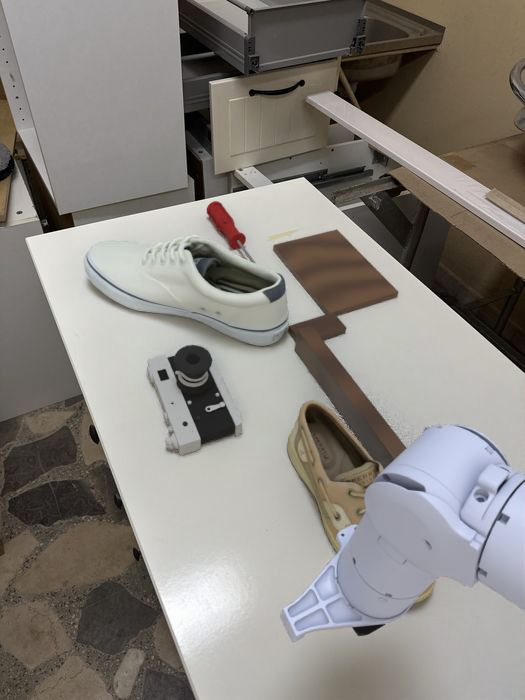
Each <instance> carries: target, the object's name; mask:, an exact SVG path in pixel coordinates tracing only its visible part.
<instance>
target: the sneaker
mask: <svg viewBox="0 0 525 700" xmlns="http://www.w3.org/2000/svg"><path fill="white" fill-rule="evenodd" d="M255 263H256V262H255ZM255 263H253V262H251V261H250V260H249V259H246V258H243V257H242V256H240V255H237V254H235V253H234V252H233V251H231V250H229V249H228V248H227V247H225V246H223V245H222V244H221V243H219V242H217V241H214V240H212V239H207V238H203V237H202V236H201V235H199V234H190V235H187V236H186V237H185V236H178V237H175V238H173V239H169V240H167V241H162V242H161V241H160V242H158V243H156V244H155V245H147V244H143V243H139V242H133V241H126V240H125V241H124V240H105V241H100V242H98V243H95V244H94V245H92V246H91V247H90V248H89V249H88V250H87V252H86V253H85V255H84V257H83V266H84V272H85V275H86V276H87V278H88V280H89V281H90V283H92V284H93V286H94V287H95V288H97V290H99V291H100V292H101V293H103V294H104V295H105V296H106V297H108V298H110V299H111V300H113V301H115V302H116V303H118V304H120V305H121V306H124V307H125V308H129V309H131V310H134V311H137V312H145V313H146V312H147V313H153V314H163V315H169V316H170V315H171V316H178V317H184V318H188V319H192V320H194V321H198V322H200V323H202V324H204V325H206V326H208V327H210V328H212V329H214V330H216V331H218V332H220V333H222V334H224V335H226V336H228V337H230V338H233V339H234V340H236V341H239V342H242V343H245V344H248V345H249V344H250V345H252V346H259V347H265V346H270V345H273V344H275V343H277V342H278V341H280V339H281V338H282V337H283V336H284V333H285V332H286V330H287V329H288V327H289V323H290V319H291V318H290V317H291V315H290V310H289V306H288V297H287V287H286V280H285V277H284V276H283V275H282V274H281V273H279V272H277V271H276V270H273V269H271V268H269V267H266V266H264V265H261V264H258V263H256V264H255Z"/></svg>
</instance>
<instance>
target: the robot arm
mask: <svg viewBox="0 0 525 700" xmlns="http://www.w3.org/2000/svg"><path fill="white" fill-rule="evenodd" d="M364 500H365V507H366V512H365V513H364V515H363V517H362V519H361V520H360V522H359V524H358V525H356V524H354V525H351V526H349V527H347V528H345V529H343V530H341V531H339V532H338V534H337V537H336V540H337V542H338V544H339V546H340V551H339V552H338V553H337V552H336V554H335V555H333V557H332V559H330V561H329V562H327V564H326V565H325V567H324V568H323V569H322V570H321V571H320V573H319V574H318V575H317V576H316V577H315V579H313V580H312V582H311V583H310V584H309V585H308V586H307V587H306V589H305V590H303V592H302V593H301V594H300V595H299V596H298V597H297V598H296V599H295V600H293V601H292V602H290V603H289V604H287V605H285V606H283V607H282V609H281V612H280V614H279V618H280V620H281V622H282V624H283V626H284V629H285V631H286V633H287V634H288V637H289V639H290V642H291V643H292V644H294V643H296V642H297V641H299V640H302V639H303V638H304V637H305V635H307V634H311V633H314V632H318V631H328V630H329V631H330V630H338V629H348V628H352V630H353V631H354V633H355V634H356V636H358V637H365V636H368V635H371V634H372V633H374V632H376V631H377V630H379V629H380V628H382V627H384V626H386V624H390V623H395V622H396V621H398V620H400V619H401V618H402V617H403V616H405V615H406V614H407V613H408V612H409V611H410V610H411V609H412V607H413V605H414V604H415V603H414V602H415V601H416V599H417V598H418V597H419V596H420V595H421V594H422V593H423V592H424V591H425V590H426V589H427V588H428V587H429V586H430V585H431V584H432V583H433V582H434V581H435V580H436V581H437V580H438V579H439V578H448V579H452V580H454V581H456V582H457V583H459V584H460V585H462V586H463V587H465V586H467V587H469V588H473V587H474V586H475V585H476V584H478V582H480V583H481V584H483V585H484V586H485V587H487V588H488V589H490V590H491V591H493V592H495V593H496V594H498V595H499V596H500V597H502V598H504V599H505V600H506V601H508V602H509V603H511V604H512V605H514V606H516V607H518V608H519V609H520V610H522V611H523V612H525V473H523V472H521V471H520V470H518V469H515V468H513V467H511V464H510V463H509V460H508V458H507V456H506V455H505V453H504V452H503V450H502V449H501V448H500V447H499V445H497V444H496V443H495V442H494V441H493V440H492V439H491V438H489V437H488V436H487V435H486V434H485V433H483V432H481V431H479V430H477V429H475V428H473V427H471V426H469V425H464V424H459V423H451V424H446V423H445V424H444V425H443V426H441V424H439V423H438V424H434V425H430V426H429V425H428V426H427V425H426V426H425V427H424V429H423V431H422V433H420V434H419V436H418V437H417V438H415V439H414V440H413V442H411V443H410V444H409V445H408V446H406V449H405V450H404V451H403V452H402V453H401V454H400V455H399V456H398V457H397V458H396V459H395V460H394V461H393V462H391V463H390V464H389V465H388V466H387V467H386V468H385V469H384V470H383V471H382V472H381V473H380V474H379V475H378V476H377V477H376V478H375V479H374V481H373V484H371V485H370V486H369V487H368V488H367V489H366V492H365V497H364Z"/></svg>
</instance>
